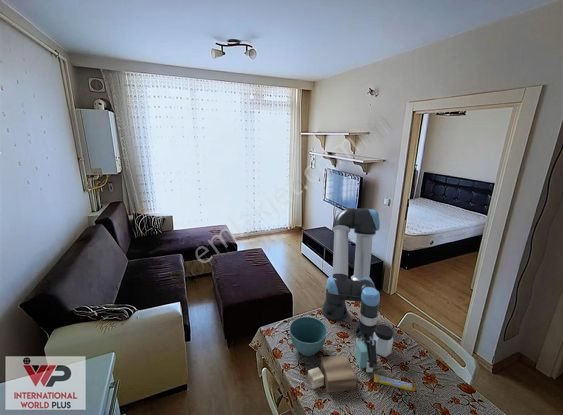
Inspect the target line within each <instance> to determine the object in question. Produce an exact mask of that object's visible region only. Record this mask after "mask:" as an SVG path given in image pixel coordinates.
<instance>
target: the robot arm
mask: <svg viewBox="0 0 563 415" xmlns="http://www.w3.org/2000/svg"><path fill="white" fill-rule="evenodd" d="M380 228H381V224H380V216H379V212H378V211H377V209H371V208H356V207H355V208H353V207H347V208H344V209H343V210H341V211H340V212H338V214H337V215H336V216H335V218H334V220H333V223H332V231H333V237H334V238H333V255H332V256H333V257H332V259H333V260H332V275H331V276H329V277H328V278H327V279H326V285H325V299H324V302H323V304H322V307H321V313H322V315H323V316H324V317H325V318H326V319H328V320H331V321H334V322H339V321H340V322H341V321H343V320H345V319H346V318H348V311H349V310H348V308H347V303H346V301H350V302H355V303H357V302H358V303H360V307H359V308H360V309H359V315H358V317H359V320H358V322H357V326H356V328H355V329H354V333H355V336H356V337H355V338H356V340H355V342H364V341H365V344H366V346H367V353H368V359H367V367H366V370H365V371H366V373H373V371H374V365H377V364H378V358H377V357H378V356H377V355H378V354H376V340H373V336H374V332H375V331H376V326H377V325H378V316H379V306H380V301H381V296H380V295H381V294H380V291H379V290H378V289H376V286H375V282H373V280H372V278H371V277H370V273H371V263H372V262H371V259H372V248H373V247H372V246H373V237H374V236H376V233H377V232H378V231H380ZM351 230H353V232H354V233H355V235H356V237H355V238H356V240H355V252H354V253H355V254H354V265H353V266H354V267H353V268H354V270H353V275H351V276H350V279H349V233H350V232H351ZM363 340H364V341H363ZM367 341H369V342H367Z"/></svg>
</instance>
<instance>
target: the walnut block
mask: <svg viewBox="0 0 563 415" xmlns="http://www.w3.org/2000/svg"><path fill="white" fill-rule="evenodd" d="M320 371H321V372H322V374H323V376H324V385H325V388H326V390H327V392H326V393H333V392H334V393H336V392H343V391H344V392H346V391H355V390H356V388H357V376H356V374H355V371H354V369H353V367H352V364H351V362H350V360H349V357H348V356H347V354H341V355H329V356H321V357H320Z"/></svg>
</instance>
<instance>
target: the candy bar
mask: <svg viewBox="0 0 563 415" xmlns="http://www.w3.org/2000/svg"><path fill="white" fill-rule="evenodd" d="M374 382H375V383H378V384H382V385H385V386H389V387H392V388H397V389H401V390H405V391H410V392H413V393H414V392H416V387H415V386H414V382H408V381H403V380H399V379H394V378H390V377H387V376H383V375H380V374H377V373H373V383H374Z"/></svg>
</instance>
